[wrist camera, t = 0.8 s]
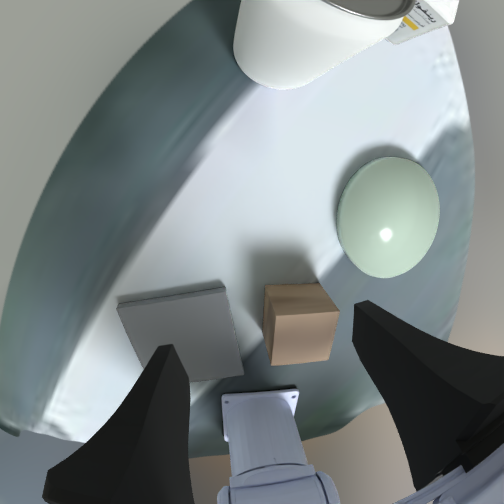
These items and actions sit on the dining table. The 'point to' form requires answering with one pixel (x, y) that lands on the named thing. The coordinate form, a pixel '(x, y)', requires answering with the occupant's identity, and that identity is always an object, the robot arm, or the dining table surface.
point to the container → (424, 19)
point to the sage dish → (388, 216)
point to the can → (309, 36)
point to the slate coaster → (186, 332)
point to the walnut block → (298, 323)
